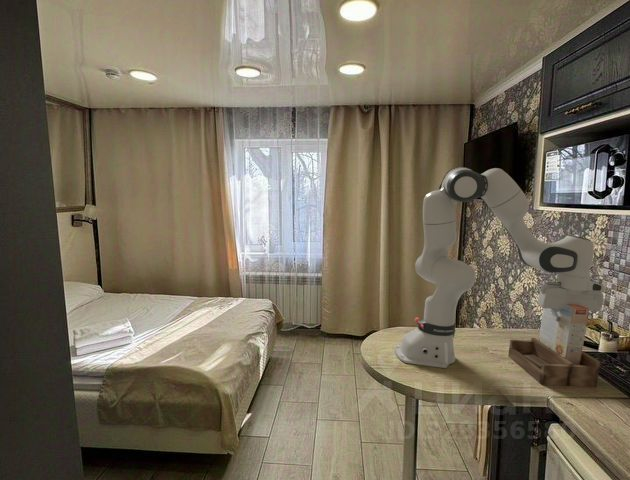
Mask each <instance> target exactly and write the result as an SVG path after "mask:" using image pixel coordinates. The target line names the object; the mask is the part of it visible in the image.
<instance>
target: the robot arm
mask: <svg viewBox="0 0 630 480" xmlns="http://www.w3.org/2000/svg"><path fill="white" fill-rule="evenodd" d="M479 198H481V199H482V200H483V201H484V202H485V204H486V205H487V206H488V207H489V209H490V210H491V212H492V213H493V214H494V216H495V217H496V218H497V219H498V220H499V221H500V223H501V224H502V226H503V227H504V228H505V230H506V231H507V233H508V235H509V236H510V238H511V239H512V240H513V242H514V243H515V246H516V248H517V252H518V257H519V260H520V261H521V262H522V264H523V265H525V266H527V267H529V268H533V269H538V270H539V271H543V272H545V273H549V274H552V273H553V274H557V279H556V281H545V282H544V283H542V284H541V286H540V287H541V288H540V291H539V293H538V294H539V295H538V299H537V304H538V306H540V307H542V308H548V309H551V312H552V314H553V320H554V321H560V318H561V317H560V316H558V314H557V312H559V309H564V308H565V305H566V304H575V305H581V306H584V307H586V308H589V311H591V312H600V311H601V310H602V309H603V304H604V293H603V291H604V290H605V285H603V284H601V283H599V282H595V281H593V280H592V279H591V272H590V270H591V267H592V266H593V262H594V252H595V251H594V250H595V248H594V243H593V241H592V240H591V239H588V238H587V237H582V236H577V235H572V234H571V235H566V236H565V237H564V238H562V239H559V240H558V241H555V242H551V243H548V242H544V241H542V240H539V239H538V238H536V236H535V235H533V234H532V232H531V230H530V229H529V227H528V226H527V224H526V223H525V220H524V218H525V216H526V215H527V214H528V211H529V208H530V202H529V200H528V197H527V196H526V194H525V192H524V191H523V190H522V188H520V186H519V184H518V183H517V182H516V181H515V180H514V179H513V178H512V177H511V176H510V175H509V174H508V173H507V172H506V171H504V169H502V168H499V167H498V168H497V167H494V168H490V169H487V170H486V171H484V172H482V173H480V172H476V171H474V170H472V169H470V168H468V167H462V166H458V167H457V166H456V167H453V168H452V169H450V170H448V171H447V172H446V173H445V175H444V176H443V179H442V181H441V182H440V184H439V187H438V189H437V190H432V191H430V192H428V193H426V195H425V196H424V198H423V201H422V202H423V203H422V225H423V226H422V227H423V236H424V237H423V238H424V240H423V241H424V242H423V243H424V244H423V250H422V253H421V255H420V256H419V257H417V259H416V261H415V263H414V264H415V265H414V270H415V273H416V274H417V275H418V276H419V277H421V278H422V279H423V280H425V281H426V282H428V283H431V284H435V290H434V292H433V294H431V295H430V296H427V297H426V299H425V301H424V312H423V318H422V319H420V318H419V317H417V316H416V317H415V318H414V322H415V323H416V324H417V327H416V328H415V329H412V330H411V331H409V332H407V333H405V334H404V335H403V336H402V339H401V342H400V344H396V345H395V347H394V353H395V355H396V357H397V358H398V359H399V360H400V361H401V362H403V363H406V364H412V365H418V366H419V365H420V366H425V367H426V366H427V367H435V368H443V369H446V368H448V367H449V366H450V365H452V364H454V363H455V361H456V355H455V348H454V338H455V333H456V323H455V321H456V320H455V319H456V311H457V307H458V303H459V300H460V298H461V296H462V295H463V294H464V293H465V292H467V291H470V289H471V288H473V286H474V285H475V283H476V279H477V275H476V272H475V269H474V268H473V267H472V265H469V264H467V263H466V262H464V261H462V260H459V259H454V258H451V257H449V250H450V248H451V247H452V246H454V245H455V243H457V225H456V224H457V223H456V215H455V213H456V212H455V211H456V210H455V209H456V205H457V203H466V202H470V201H474V200H477V199H479Z"/></svg>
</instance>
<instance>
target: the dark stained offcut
mask: <svg viewBox="0 0 630 480" xmlns="http://www.w3.org/2000/svg"><path fill="white" fill-rule="evenodd" d="M523 356H524V357H526V358H527V359H528V360H529V361H531V362H532V363H533V364H535V365H536V366H537V367H538V368H540V369H541V367H542V364H548V363H547V362H545V361H543V360H542V359H540V358H539V357H537V356H535V355H523Z"/></svg>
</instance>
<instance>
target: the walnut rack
mask: <svg viewBox="0 0 630 480" xmlns="http://www.w3.org/2000/svg"><path fill="white" fill-rule="evenodd" d="M508 347H509V348H508V355H507V356H508V358H509V359H511V360H512V361H513V362H514V363H516V364H517V365H518V366H519V367H520V368H521V369H522V370H524V371H525V372H526V373H527V374H528V375H529V376H531V377H532V378H533V379H534V380H536V382H537V383H539V384H540V385H541V386H559V387H581V388H582V387H583V388H585V387H586V388H597V385H598V379H599V374H600V367H601V361H600V360H598V359H596V358H595V357H593V356H591V355H589V354H588V353H586V352H585V351H584V350H582V355H581V361H580V365H573V363H571V362H570V361H568V360H567V359H565V358H564V357H562V356H561V355H559V354H558V353H556V352H555V351H553V350H552V349H550V348H549V347H547V346H546V345H544V344H543V343H541V342H540V341H539V339H537V338H535V337H531V339H530V340H529V339H509V346H508ZM523 355H535V356H537V357H539V358H540V359H542V360H543V361H545V362H547V363H548V364H542V367H541V369H540V368H538V367H537V366H536V365H535V364H533V363H532V362H531V361H529V360H528V359H527V358H526V357H524V356H523Z"/></svg>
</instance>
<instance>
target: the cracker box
mask: <svg viewBox="0 0 630 480" xmlns="http://www.w3.org/2000/svg"><path fill="white" fill-rule="evenodd" d="M542 308H543V307H542ZM557 314H558V316H560V317H561V318H560V321H554V320H553V314H552V312H551V309H548V308H543V311H542V315H541V322H540V330H539V336H538V341H540V342H541V343H543V344H544V345H546V346H547V347H549V348H550V349H552V350H553V351H555V352H556V353H558V354H559V355H561V356H562V357H564V358H565V359H567V360H568V361H570V362H571V363H573V365H580V361H581V355H582V351H583V348H584V342H585V336H586V330H587V329H586V328H587V324H588V318H589V308H586V307H584V306H581V305H575V304H566V305H565V308H564V309H559V312H557Z"/></svg>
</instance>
